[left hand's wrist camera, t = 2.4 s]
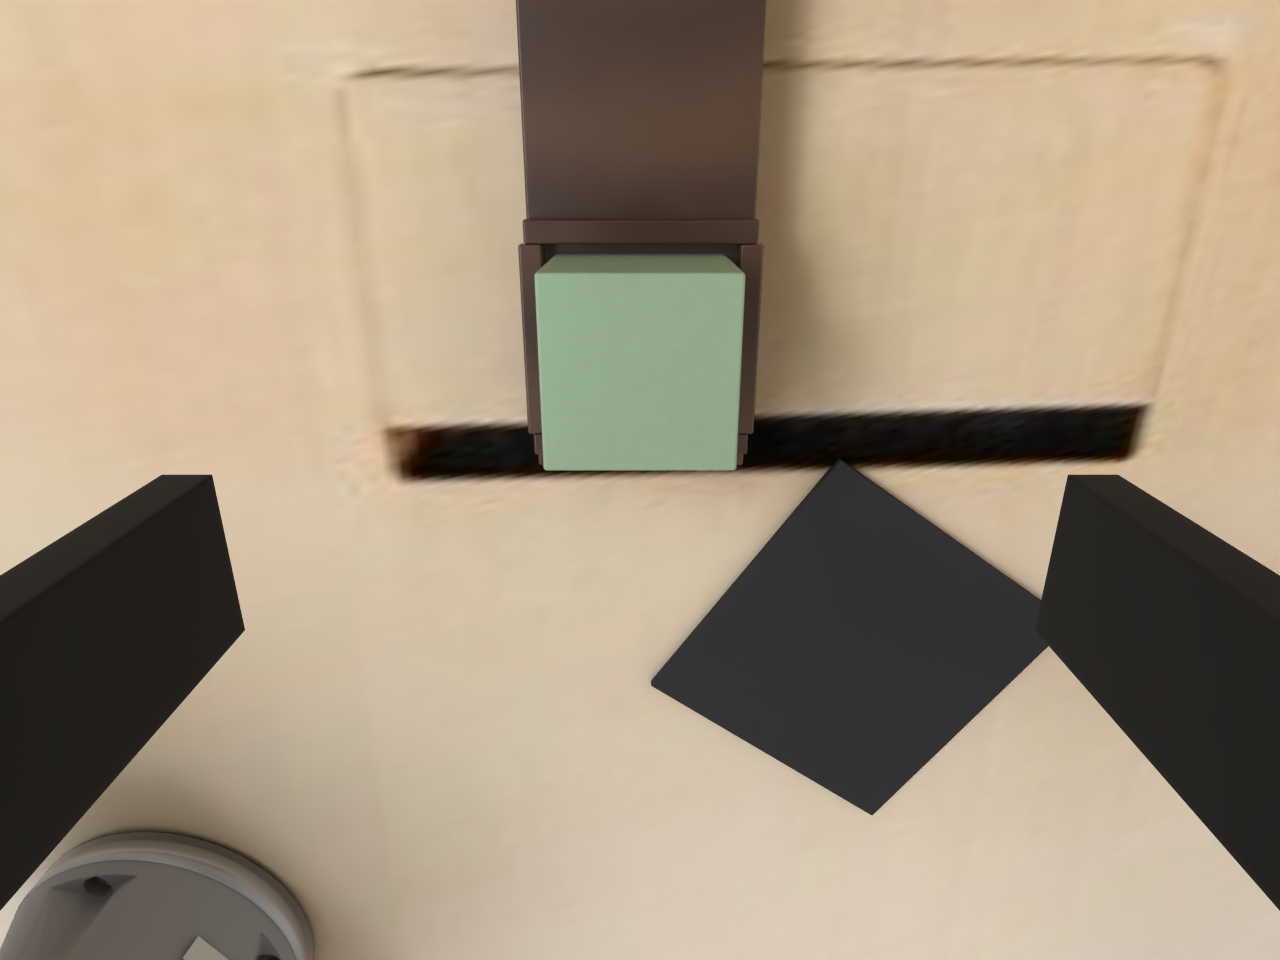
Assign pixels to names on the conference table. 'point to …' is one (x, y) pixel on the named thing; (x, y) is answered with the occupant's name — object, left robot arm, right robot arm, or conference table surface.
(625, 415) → the green block
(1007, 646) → the rubber mat
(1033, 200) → the conference table surface
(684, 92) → the walnut board
